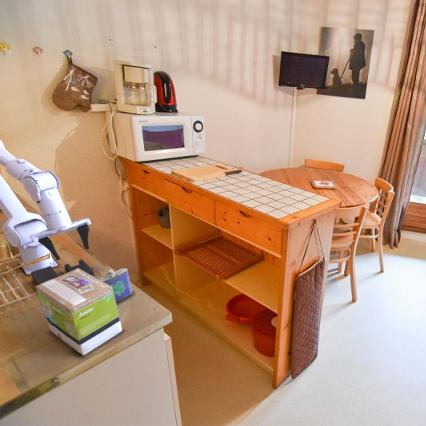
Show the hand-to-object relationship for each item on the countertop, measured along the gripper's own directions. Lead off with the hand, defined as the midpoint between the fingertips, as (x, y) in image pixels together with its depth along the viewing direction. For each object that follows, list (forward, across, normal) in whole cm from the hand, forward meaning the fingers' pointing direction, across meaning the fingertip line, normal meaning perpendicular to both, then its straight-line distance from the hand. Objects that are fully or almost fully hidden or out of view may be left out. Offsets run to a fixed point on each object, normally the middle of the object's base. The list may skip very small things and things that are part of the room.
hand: (73, 253), depth 98 cm
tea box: (+15, -7, -23) cm, 29 cm away
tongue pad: (+8, -8, +4) cm, 12 cm away
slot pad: (+9, 0, +4) cm, 10 cm away
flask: (+14, +3, -16) cm, 21 cm away
